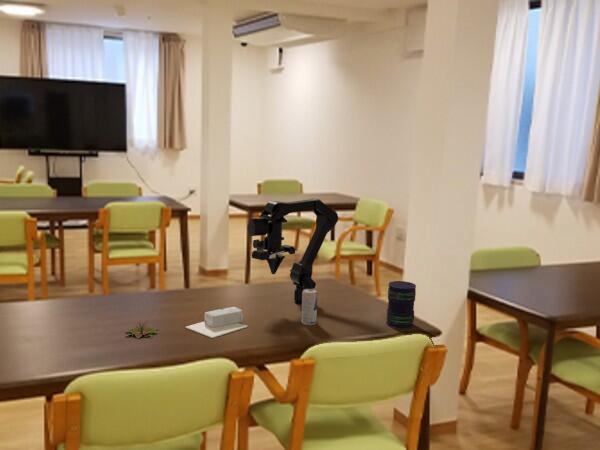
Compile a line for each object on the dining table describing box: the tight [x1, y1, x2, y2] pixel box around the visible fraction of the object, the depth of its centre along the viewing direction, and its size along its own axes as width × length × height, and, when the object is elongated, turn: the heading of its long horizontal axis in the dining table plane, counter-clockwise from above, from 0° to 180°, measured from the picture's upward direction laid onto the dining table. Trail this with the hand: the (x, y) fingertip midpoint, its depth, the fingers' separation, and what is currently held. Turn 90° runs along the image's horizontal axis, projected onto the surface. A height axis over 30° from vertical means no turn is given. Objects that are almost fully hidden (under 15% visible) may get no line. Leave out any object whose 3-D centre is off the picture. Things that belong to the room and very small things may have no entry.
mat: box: [185, 320, 248, 339], centre depth 208 cm, size 16×14×1 cm
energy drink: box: [300, 288, 318, 326], centre depth 215 cm, size 5×5×12 cm
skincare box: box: [204, 306, 244, 328], centre depth 212 cm, size 6×4×12 cm
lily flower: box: [124, 320, 159, 339], centre depth 200 cm, size 12×12×5 cm
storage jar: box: [385, 280, 417, 330], centre depth 216 cm, size 10×10×15 cm
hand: (273, 274), depth 231 cm, fingers closed
